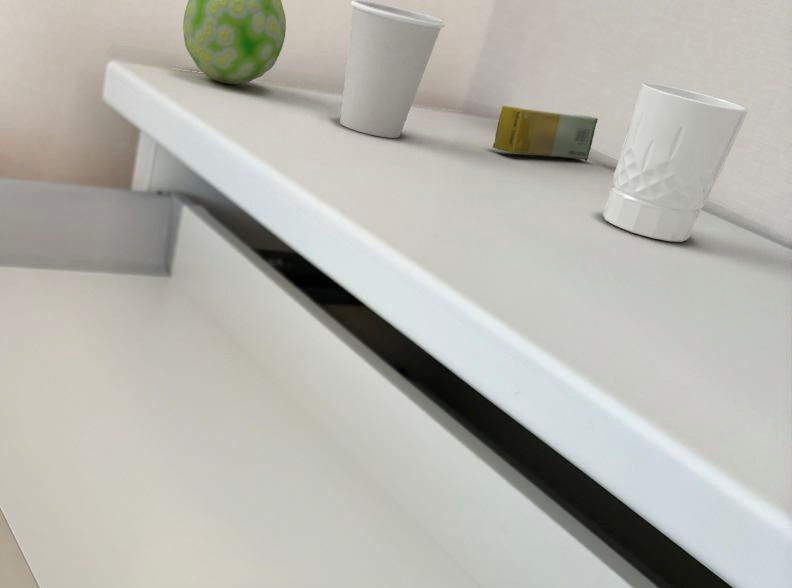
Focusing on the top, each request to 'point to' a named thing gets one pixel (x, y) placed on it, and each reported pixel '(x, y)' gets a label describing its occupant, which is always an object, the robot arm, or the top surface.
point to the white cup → (670, 160)
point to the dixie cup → (385, 66)
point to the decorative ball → (234, 37)
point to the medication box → (544, 133)
